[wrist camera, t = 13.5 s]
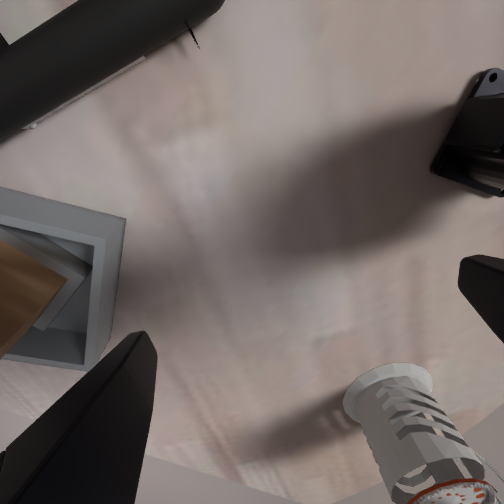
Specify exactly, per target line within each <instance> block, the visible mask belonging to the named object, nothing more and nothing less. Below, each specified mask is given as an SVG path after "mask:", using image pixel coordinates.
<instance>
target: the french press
mask: <svg viewBox="0 0 504 504" xmlns="http://www.w3.org/2000/svg"><path fill="white" fill-rule="evenodd" d="M431 393H432V377H431V376H430V375H429V373H428V372H427V371H426V370H425V369H424V368H422V367H419V366H417V365H414V364H411V363H391V364H387V365H383V366H380V367H376V368H373V369H371V370H370V371H368V372H366V373H365V374H363V375H361V376H360V377H358V378H357V379H356V380H355V381H354V382H353V383H352V384H351V385H350V386H349V387H348V389H347V390H346V392H345V395H344V398H343V402H342V403H343V407H344V410H345V413H346V414H347V415H348V416H349V417H351V418H352V419H353V420H354V421H356V422H359V423H360V424H361V427H362V430H363V433H364V435H365V436H366V437H367V442H368V445H369V447H370V448H371V450H372V451H373V457H374V459H375V461H376V463H377V464H378V465H379V471H380V473H381V476H382V478H383V480H384V482H385V485H386V487H387V490H388V492H389V494H390V497H391V499H392V501H393V502H395V503H396V504H496V499H497V501H498V502H499V504H503V503H502V501H501V499H500V498H499V497H498V495H497V491H496V490H495V489H494V488H493V487H492V486H491V485H490V484H489V483H487V482H486V481H484V480H483V479H484V476H485V468H484V467H483V465H482V464H481V462H480V461H479V459H481V460H482V461H484V462H485V463H486V464H487V465H488V466H489V467H490V468H491V469H492V470H493V471H494V472H495V473H496V474H497V475H498V476H499V478H500V479H501V480H502V481H503V482H504V478H503V477H502V476H501V475H500V474H499V473H498V472H497V471H496V469H495V468H494V467H493V466H491V464H490V463H489V462H488V461H487V460H485V459H484V458H483V457H481V456H480V455H478V454H477V453H476V452H474V451H473V450H472V449H471V448H470V447H469V446H468V445H467V443H466V442H465V440H464V438H463V437H462V436H461V434H460V433H459V432H458V431H457V429H456V428H455V426H454V425H453V423H452V422H451V420H450V419H449V418H448V417H447V415H446V414H445V413H444V411H443V409H442V408H441V406H440V405H439V404H438V403H437V402H436V400H435V398H434V397H433V395H432V394H431ZM422 412H423V413H427V414H429V415H431V416H432V417H433V419H434V420H435V421H432V420H428V419H426V417H425V416H424V414H423V413H422ZM432 427H434V428H437V429H440V430H441V431H442V432H443V434H444V435H445V437H446V438H445V437H442V436H438V435H437V434H436V433H435V431H434V430H433V428H432ZM400 440H401V441H400ZM477 457H478V458H479V459H478V458H477ZM452 458H453V459H455V460H456V461H458V462H460V463H461V464H463V465H464V466H465V467H466V468H467V470H468V471H469V473H470V474H471V476H472V477H473V478H469V479H465V478H464V476H463V475H462V473H461V472H460V470H459V469H458V467H457V466H456V464H455V462H454V461H453V459H452ZM459 458H460V459H461V460H460V459H459ZM424 464H426V465H427V467H426V468H425V469H424V470H423V471H422V472H421V473H420V474H418V475H415V476H413V477H411V478H406V477H403V476H404V475H406V474H407V473H409V472H411V471H412V470H414V469H416V468H418V467H420V466H422V465H424ZM431 475H432V476H433V478H434V479H435V481H436V483H435V484H434V485H433V486H431V487H429V488H427V489H425V490H423V491H420V492H418V493H416V494H410V493H405V492H403V491H402V490H401V489H399V488H398V487H397V486H396V485H395V484H396V482H398V483H400V484H403V485H408V486H412V487H414V486H416V485H418V484H420V483H423V482H425V481H426V480H427V479H428V478H429V477H430V476H431Z"/></svg>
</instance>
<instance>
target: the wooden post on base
mask: <svg viewBox="0 0 504 504" xmlns="http://www.w3.org/2000/svg"><path fill="white" fill-rule="evenodd" d="M92 269H93V266H92V265H90V264H89V263H87V262H85V261H84V260H82V259H80V258H79V257H77V256H75V255H74V254H72V253H71V252H69V251H67V250H66V249H64V248H62V247H61V246H59V245H58V244H56V243H54V242H53V241H51V240H49V239H48V238H46V237H45V236H43V235H41V234H40V233H37V232H33V231H29V230H24V229H20V228H16V227H11V226H7V225H3V224H0V359H1V358H2V357H3V356H4V355H5V354H6V353H7V352H8V351H9V350H10V349H11V348H12V346H13V345H14V344H15V343H16V342H17V341H18V340H19V339H20V338H21V337H22V336H23V335H24V334H25V333H26V331H27V330H28V329H29V328H30V327H31V326H34V327H36V328H38V329H40V330H42V331H44V330H45V329H46V328H47V327H48V326H49V324H50V323H51V322H52V321H53V320H54V319H55V317H56V316H57V315H58V314H59V312H60V311H61V310H62V308H63V307H64V306H65V305H66V303H67V302H68V301H69V300H70V298H71V297H72V296H73V294H74V293H75V292H76V291H77V289H78V288H79V287H80V285H81V284H82V283H83V282H84V280H85V279H86V278H87V277H88V275H89V274H90V273H91V271H92Z"/></svg>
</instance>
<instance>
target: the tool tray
mask: <svg viewBox="0 0 504 504" xmlns="http://www.w3.org/2000/svg"><path fill="white" fill-rule="evenodd" d="M0 224H3V225H7V226H11V227H16V228H20V229H24V230H29V231H33V232H37V233H40V234H41V235H43V236H45V237H46V238H48V239H49V240H51V241H53V242H54V243H56V244H58V245H59V246H61V247H62V248H64V249H66V250H67V251H69V252H71V253H72V254H74V255H75V256H77V257H79V258H80V259H82V260H84V261H85V262H87V263H89V264H90V265H92V266H93V269H92V271H91V273H90V274H89V275H88V277H87V278H86V279H85V280H84V282H83V283H82V284H81V285H80V287H79V288H78V289H77V291H76V292H75V293H74V294H73V296H72V297H71V298H70V300H69V301H68V302H67V303H66V305H65V306H64V307H63V308H62V310H61V311H60V312H59V314H58V315H57V316H56V317H55V319H54V320H53V321H52V322H51V323H50V324H49V326H48V327H47V328H46V329H45V330H44V331H42V330H40V329H38V328H36V327H34V326H31V327H30V328H29V329H28V330H27V331H26V333H25V334H24V335H23V336H22V337H21V338H20V339H19V340H18V341H17V342H16V343H15V344H14V345H13V346H12V348H11V349H10V350H9V351H8V352H7V353H6V354H5V355H4V356H3V357H2V358H1V359H5V360H12V361H19V362H26V363H32V364H39V365H46V366H53V367H59V368H66V369H73V370H79V371H86V372H89V371H90V370H91V369H92V368H93V367H94V366H95V365H96V364H97V362H98V360H99V359H100V357H101V355H102V353H103V351H104V349H105V347H106V345H107V343H108V342H109V340H110V337H111V330H112V322H113V315H114V307H115V300H116V292H117V285H118V277H119V270H120V262H121V255H122V247H123V240H124V232H125V225H126V219H125V218H121V217H117V216H113V215H109V214H105V213H101V212H98V211H94V210H90V209H86V208H82V207H78V206H74V205H70V204H66V203H62V202H58V201H54V200H50V199H46V198H42V197H38V196H34V195H30V194H26V193H22V192H19V191H15V190H11V189H7V188H3V187H0Z"/></svg>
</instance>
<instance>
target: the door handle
mask: <svg viewBox="0 0 504 504" xmlns="http://www.w3.org/2000/svg"><path fill="white" fill-rule="evenodd" d="M224 1H225V0H78V1H77V2H75V3H73V4H72V5H70V6H69V7H67V8H66V9H64V10H63V11H61V12H60V13H58V14H57V15H55V16H54V17H52V18H50V19H49V20H47V21H46V22H44V23H43V24H41V25H40V26H38V27H37V28H35V29H34V30H32V31H30V32H29V33H27V34H26V35H24V36H23V37H21V38H20V39H18V40H17V41H15V42H14V43H12V44H10V45H9V44H8V43H7V41H6V40H5V39H4V37H3V36H2V35H1V33H0V141H2V140H4V139H5V138H7V137H9V136H10V135H12V134H14V133H15V132H17V131H19V130H20V129H28V128H36V126H37V123H39V122H40V121H42V120H44V119H45V118H47V117H49V116H50V115H52V114H54V113H55V112H57V111H59V110H60V109H62V108H64V107H65V106H67V105H69V104H70V103H72V102H74V101H75V100H77V99H79V98H80V97H82V96H84V95H86V94H87V93H89V92H91V91H92V90H94V89H96V88H97V87H99V86H101V85H102V84H104V83H106V82H107V81H109V80H111V79H112V78H114V77H116V76H117V75H119V74H121V73H122V72H124V71H126V70H127V69H129V68H131V67H132V66H134V65H136V64H137V63H139V62H141V61H143V60H144V59H146V58H145V56H144V55H146V54H148V53H149V52H151V51H153V50H154V49H156V48H158V47H159V46H161V45H163V44H164V43H166V42H168V41H169V40H171V39H173V38H174V37H176V36H178V35H179V34H181V33H183V32H184V31H186V30H188V29H189V31H190V33H191V35H192V37H193V39H195V36H194V34H193V32H192V29H191V27H193V26H195V25H196V24H198V23H200V22H201V21H203V20H205V19H206V18H208V17H210V16H211V15H213V14H214V13H216V12H217V11H218V10H219V9H220V7H221V6H222V5H223V3H224ZM194 41H196V39H195V40H194ZM195 43H197V41H196V42H195ZM196 45H198V43H197V44H196ZM198 47H199V46H198ZM199 49H200V48H199Z"/></svg>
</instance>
